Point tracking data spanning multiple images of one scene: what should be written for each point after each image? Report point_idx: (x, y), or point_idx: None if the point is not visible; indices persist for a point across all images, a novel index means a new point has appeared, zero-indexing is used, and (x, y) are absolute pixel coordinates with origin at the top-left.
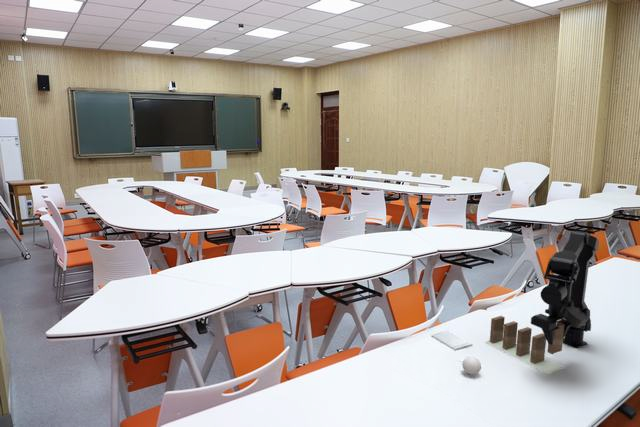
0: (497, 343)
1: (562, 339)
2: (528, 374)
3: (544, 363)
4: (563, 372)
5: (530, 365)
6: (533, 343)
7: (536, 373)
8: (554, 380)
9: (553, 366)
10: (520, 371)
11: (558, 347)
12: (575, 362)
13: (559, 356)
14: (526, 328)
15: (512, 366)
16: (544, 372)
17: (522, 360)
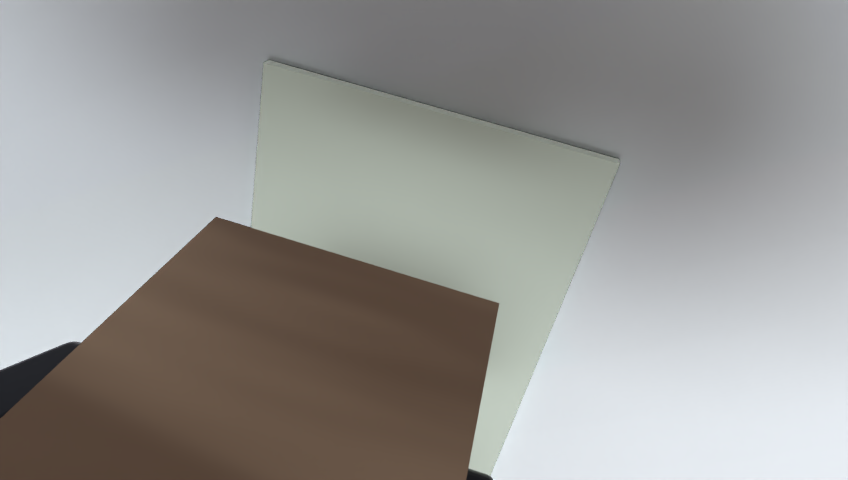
0: None
1: (76, 373)
2: (752, 322)
3: (376, 264)
4: (394, 40)
5: (539, 356)
6: None
7: (663, 266)
8: (708, 54)
9: (364, 174)
10: (733, 394)
11: (289, 303)
12: (40, 18)
13: (83, 193)
14: None
15: (670, 464)
16: (597, 208)
17: (490, 429)
